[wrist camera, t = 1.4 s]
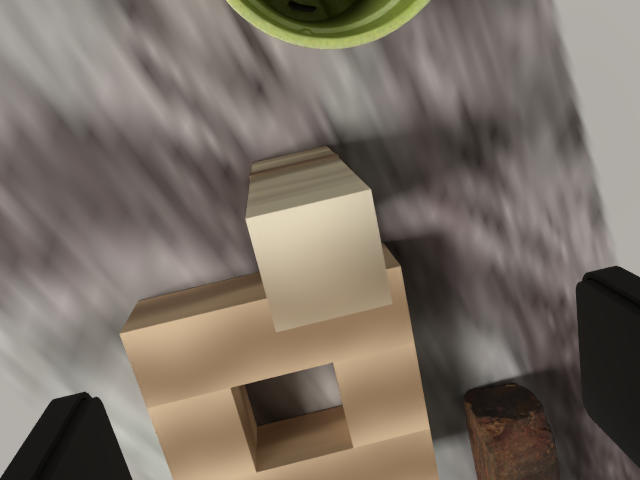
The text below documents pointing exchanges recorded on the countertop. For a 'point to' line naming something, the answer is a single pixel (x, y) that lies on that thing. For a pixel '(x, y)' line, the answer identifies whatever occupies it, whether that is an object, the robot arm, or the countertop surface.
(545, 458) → the brick
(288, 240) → the peg
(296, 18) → the plant pot
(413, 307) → the countertop surface
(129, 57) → the countertop surface
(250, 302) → the seat board
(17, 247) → the countertop surface
